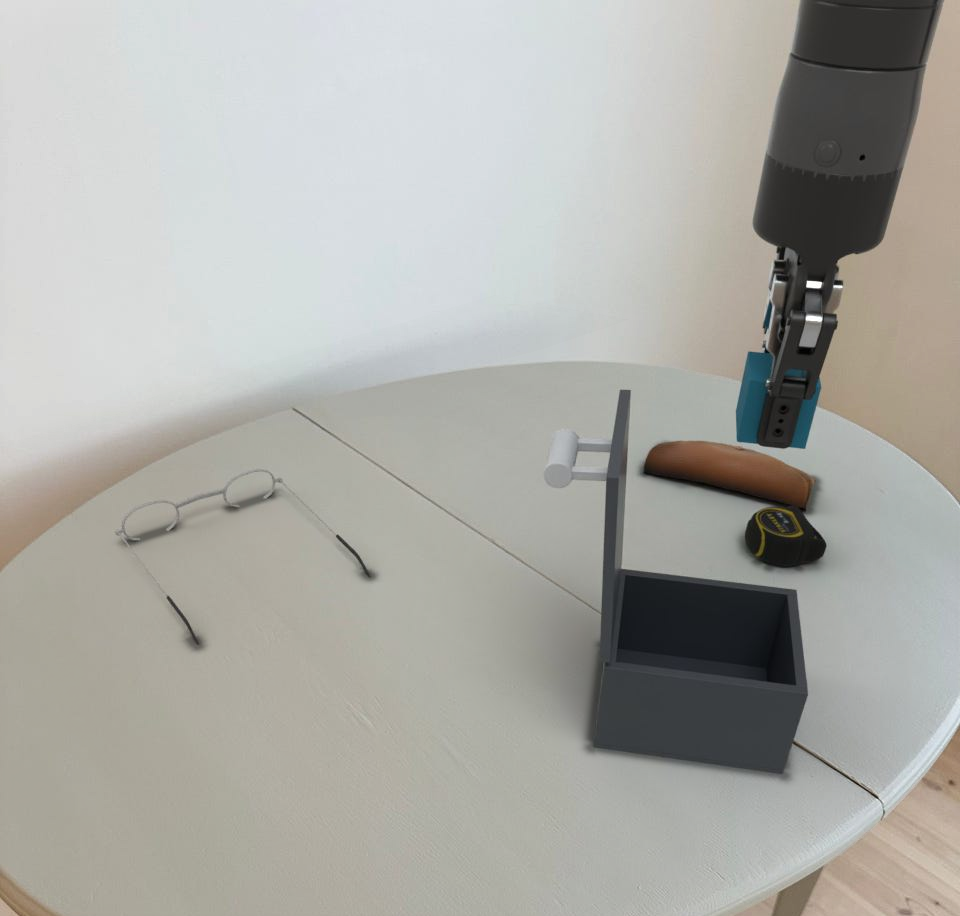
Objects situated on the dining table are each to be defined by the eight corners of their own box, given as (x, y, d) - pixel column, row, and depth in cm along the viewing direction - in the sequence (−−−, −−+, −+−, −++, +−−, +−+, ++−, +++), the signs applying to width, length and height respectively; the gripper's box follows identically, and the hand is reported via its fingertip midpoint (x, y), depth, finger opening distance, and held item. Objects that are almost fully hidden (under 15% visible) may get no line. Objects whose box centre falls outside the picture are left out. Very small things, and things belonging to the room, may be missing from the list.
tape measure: (823, 570, 97) (832, 538, 95) (757, 576, 96) (766, 544, 94) (793, 531, 102) (802, 500, 100) (731, 536, 101) (738, 505, 99)
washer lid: (630, 389, 72) (558, 387, 73) (618, 477, 62) (535, 473, 63) (621, 563, 81) (557, 559, 82) (610, 662, 72) (538, 657, 73)
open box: (773, 670, 86) (796, 589, 80) (781, 777, 76) (808, 694, 71) (605, 648, 87) (616, 567, 82) (592, 750, 78) (604, 667, 72)
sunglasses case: (819, 475, 110) (826, 443, 104) (802, 530, 108) (808, 500, 102) (662, 441, 115) (661, 408, 109) (643, 492, 113) (641, 461, 107)
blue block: (800, 418, 68) (816, 357, 65) (805, 449, 64) (821, 386, 62) (735, 411, 68) (748, 350, 65) (736, 442, 65) (749, 379, 62)
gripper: (926, 192, 49) (838, 488, 60) (888, 124, 60) (819, 386, 71) (772, 181, 50) (714, 474, 61) (762, 116, 61) (714, 375, 72)
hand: (771, 425), depth 66 cm, fingers closed on blue block, 4 cm apart
